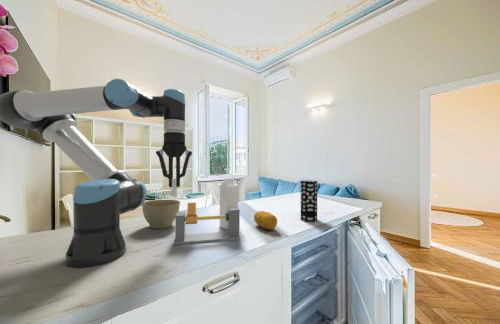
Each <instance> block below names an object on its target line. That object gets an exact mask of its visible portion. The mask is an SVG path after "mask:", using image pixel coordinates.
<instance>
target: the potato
mask: <svg viewBox="0 0 500 324" xmlns="http://www.w3.org/2000/svg"><path fill="white" fill-rule="evenodd" d="M253 219H254V222H255V224H256V225H257V226H258V227H261V228H263V229H265V230H268V231H269V230H271V231H272V230H274V229H275V228H276V227H277V225H278V218H277V217H276V215H274V214H273V213H271V212H268V211H265V210H259V211H255V213H254V215H253Z"/></svg>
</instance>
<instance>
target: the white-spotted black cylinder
mask: <svg viewBox="0 0 500 324" xmlns="http://www.w3.org/2000/svg"><path fill="white" fill-rule="evenodd" d="M300 220H301V221H303V222H305V223H316V222H317V221H318V181H317V180H301V181H300Z"/></svg>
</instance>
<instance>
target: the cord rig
mask: <svg viewBox="0 0 500 324" xmlns="http://www.w3.org/2000/svg"><path fill="white" fill-rule="evenodd" d="M240 212H241V211H240V209H239V206H238V207H231V208H228V213H225V215H220V214H216V215H214V214H213V215H197V221H207V220H220V219H226V221H227V229H226V230H227V231H216V232H215V231H214V232H203V233H202V232H201V233H189V234H186V211H179V212H177V214H176V218H175V229H174V231H175V234H174V236H175V238H174V240H173V246H176V245H177V246H178V245H188V244H202V243H203V244H204V243H215V242H227V241H238V240H239V241H240V240H241V237H240V220H241V219H240V217H241V216H240Z"/></svg>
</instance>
